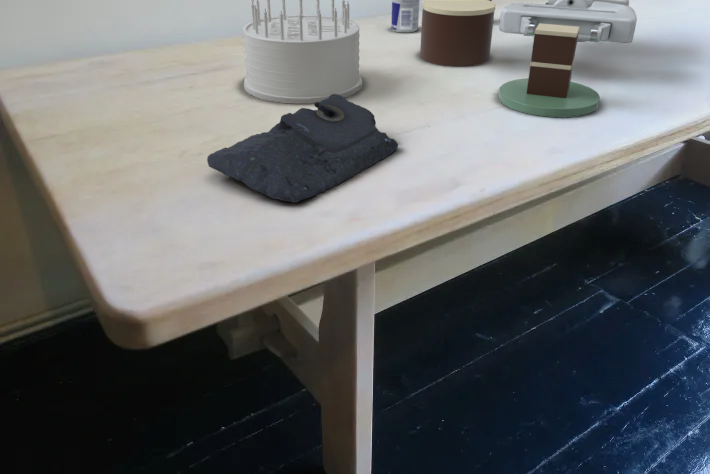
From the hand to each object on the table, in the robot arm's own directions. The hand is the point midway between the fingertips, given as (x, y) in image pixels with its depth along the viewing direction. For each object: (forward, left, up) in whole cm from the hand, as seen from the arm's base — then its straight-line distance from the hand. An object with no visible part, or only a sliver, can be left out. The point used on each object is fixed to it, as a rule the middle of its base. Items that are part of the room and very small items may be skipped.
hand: (561, 33), depth 98 cm
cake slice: (0, +7, -7) cm, 10 cm away
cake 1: (+36, +13, -8) cm, 39 cm away
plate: (0, +7, -8) cm, 11 cm away
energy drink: (+32, -27, -8) cm, 42 cm away
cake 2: (+18, -11, -8) cm, 22 cm away
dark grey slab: (+24, +39, -8) cm, 47 cm away
